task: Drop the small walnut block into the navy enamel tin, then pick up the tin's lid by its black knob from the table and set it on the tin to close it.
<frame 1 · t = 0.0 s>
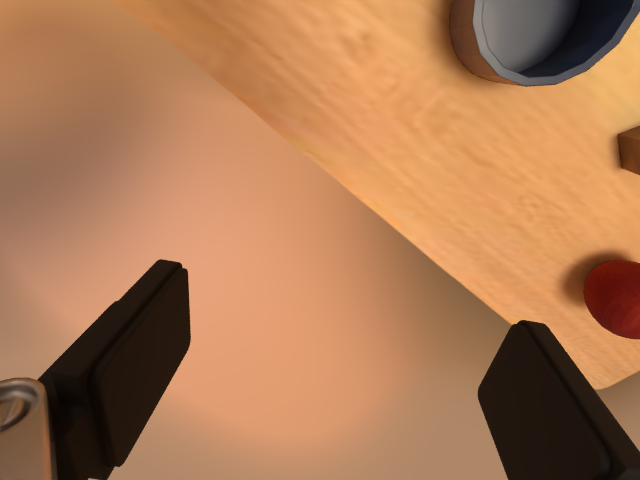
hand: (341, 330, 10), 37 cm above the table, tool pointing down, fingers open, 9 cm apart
tin: (516, 10, 36), on the table
apple: (602, 275, 50), on the table
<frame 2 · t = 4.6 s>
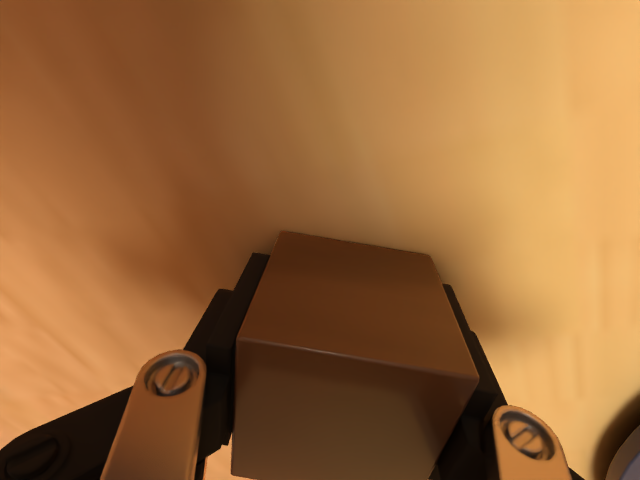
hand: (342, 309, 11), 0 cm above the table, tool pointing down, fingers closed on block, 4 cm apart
block: (342, 302, 11), on the table, touching gripper
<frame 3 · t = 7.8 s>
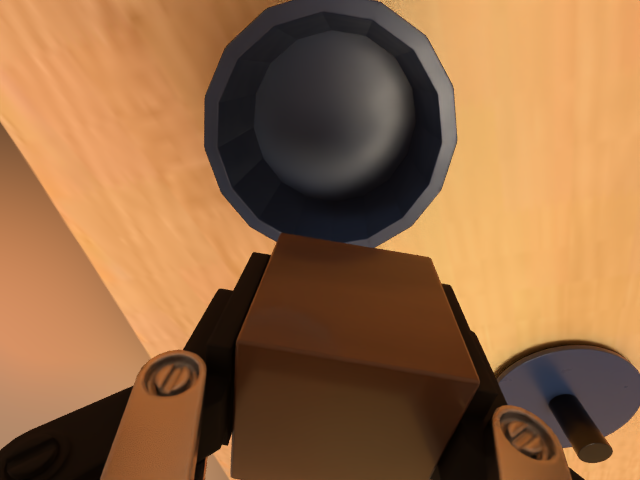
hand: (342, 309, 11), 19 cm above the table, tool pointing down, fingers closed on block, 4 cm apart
block: (342, 304, 11), point 19 cm above the table, touching gripper
tin: (333, 123, 26), on the table
lid: (560, 398, 36), point 1 cm above the table
when the fingers open (8 cm above the table, at t = 11.0 s): block drops 7 cm, resting on tin.
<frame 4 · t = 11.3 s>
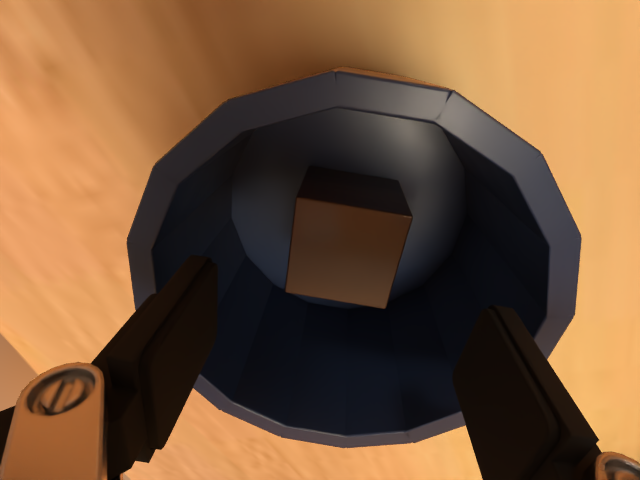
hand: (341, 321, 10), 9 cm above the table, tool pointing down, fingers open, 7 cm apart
block: (345, 214, 18), resting on tin
tin: (345, 211, 18), on the table
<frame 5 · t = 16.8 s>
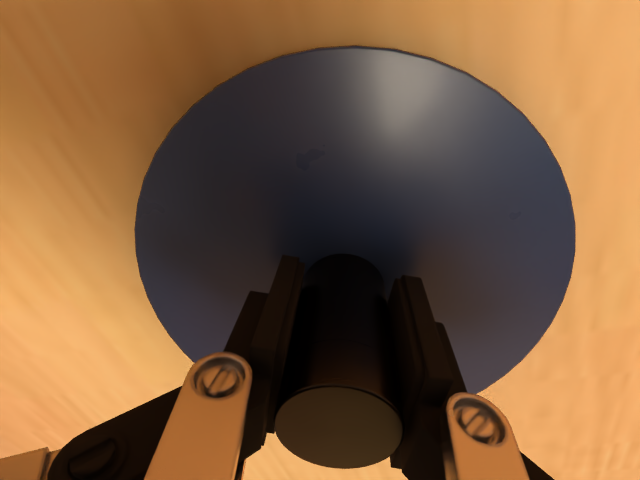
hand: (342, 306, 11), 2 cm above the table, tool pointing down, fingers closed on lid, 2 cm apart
lid: (343, 278, 12), point 1 cm above the table, touching gripper
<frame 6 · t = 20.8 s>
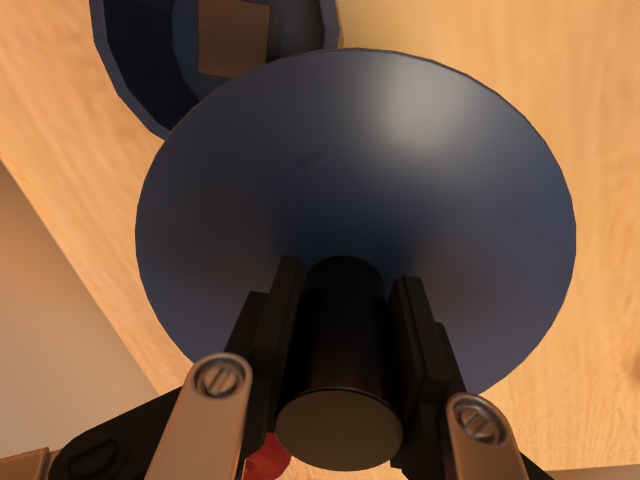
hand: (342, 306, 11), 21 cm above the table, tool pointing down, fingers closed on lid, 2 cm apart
block: (251, 44, 26), resting on tin
tin: (252, 45, 26), on the table
lid: (343, 280, 12), point 19 cm above the table, touching gripper
apple: (264, 391, 44), on the table
when the fingers open (10 cm above the table, at t = 25.2 s): lid stays where it is, resting on tin.
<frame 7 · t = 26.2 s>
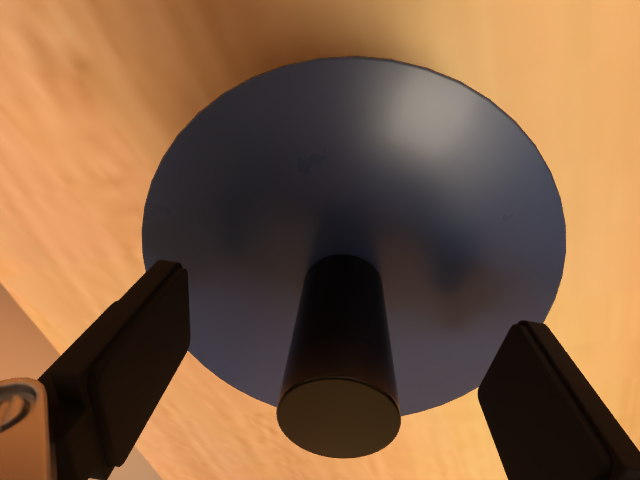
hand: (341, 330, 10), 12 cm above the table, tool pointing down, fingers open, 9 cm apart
lid: (343, 278, 13), point 8 cm above the table, touching tin
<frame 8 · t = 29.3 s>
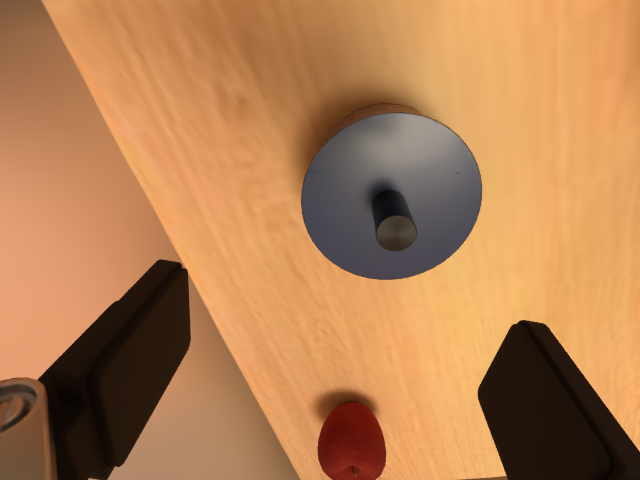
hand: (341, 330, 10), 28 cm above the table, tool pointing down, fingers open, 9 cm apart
tin: (381, 172, 36), on the table
lid: (388, 203, 29), point 8 cm above the table, touching tin
apple: (351, 409, 54), on the table
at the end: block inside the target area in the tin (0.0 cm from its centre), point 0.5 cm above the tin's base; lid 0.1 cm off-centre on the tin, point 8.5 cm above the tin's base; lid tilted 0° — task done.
